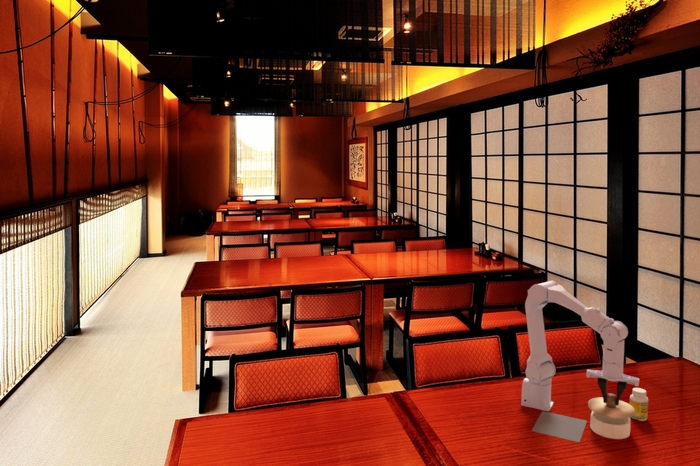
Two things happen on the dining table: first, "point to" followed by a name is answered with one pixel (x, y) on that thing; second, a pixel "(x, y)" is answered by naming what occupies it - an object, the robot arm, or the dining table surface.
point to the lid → (611, 407)
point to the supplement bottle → (639, 404)
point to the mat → (560, 426)
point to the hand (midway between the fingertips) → (611, 402)
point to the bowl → (610, 426)
